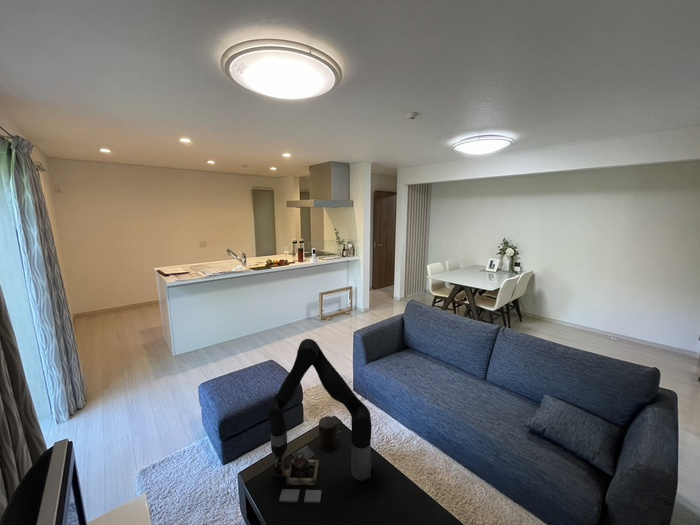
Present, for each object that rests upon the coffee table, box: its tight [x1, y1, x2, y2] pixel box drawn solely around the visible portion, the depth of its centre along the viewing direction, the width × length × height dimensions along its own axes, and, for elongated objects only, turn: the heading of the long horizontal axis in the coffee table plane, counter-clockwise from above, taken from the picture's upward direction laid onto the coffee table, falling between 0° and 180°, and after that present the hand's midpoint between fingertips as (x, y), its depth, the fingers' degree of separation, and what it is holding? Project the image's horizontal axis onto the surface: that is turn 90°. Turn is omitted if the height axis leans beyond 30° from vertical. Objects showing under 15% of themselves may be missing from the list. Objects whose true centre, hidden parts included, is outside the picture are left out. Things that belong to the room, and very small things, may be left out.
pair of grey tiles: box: [278, 488, 322, 504], centre depth 128 cm, size 18×5×1 cm, turn 88°
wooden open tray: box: [275, 458, 320, 486], centre depth 138 cm, size 20×11×6 cm, turn 88°
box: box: [290, 454, 309, 478], centre depth 138 cm, size 6×6×7 cm
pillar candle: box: [318, 415, 338, 452], centre depth 156 cm, size 10×10×15 cm
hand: (280, 470), depth 139 cm, fingers closed on wooden open tray, 3 cm apart
